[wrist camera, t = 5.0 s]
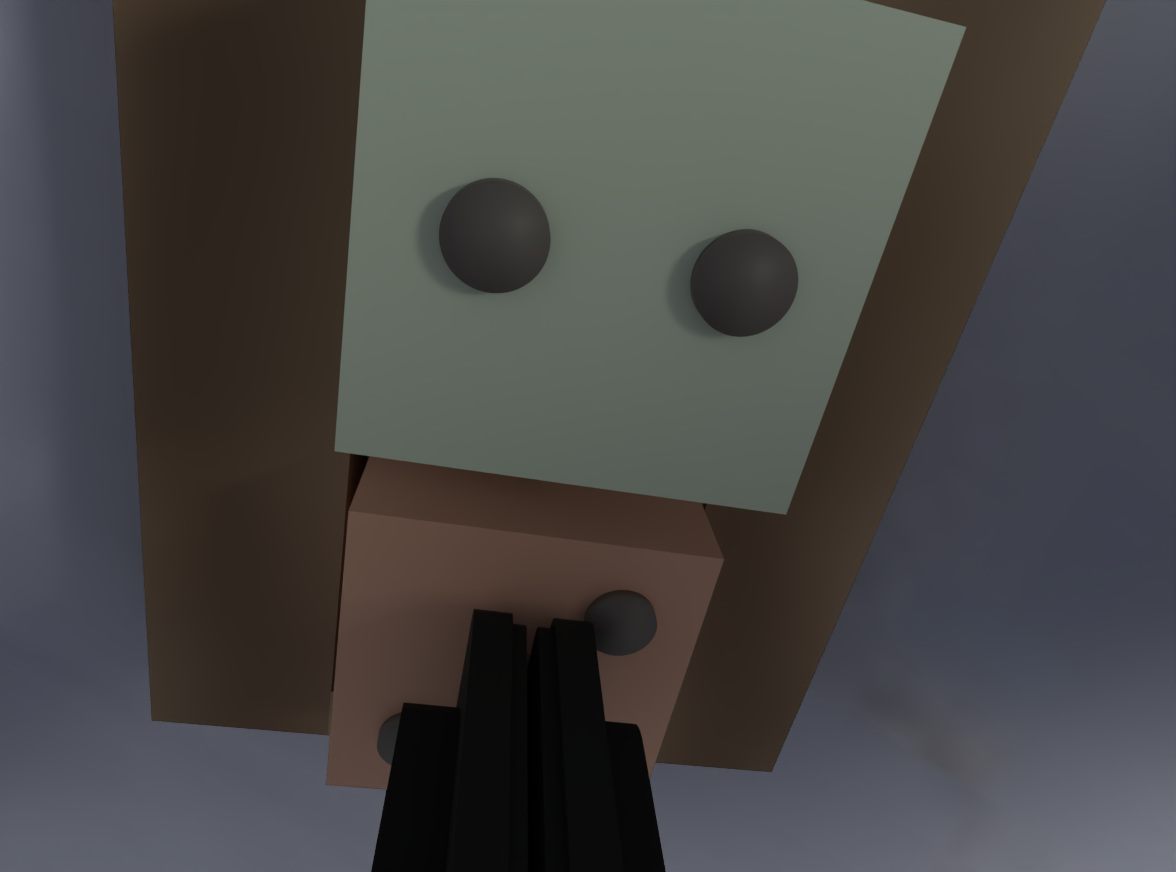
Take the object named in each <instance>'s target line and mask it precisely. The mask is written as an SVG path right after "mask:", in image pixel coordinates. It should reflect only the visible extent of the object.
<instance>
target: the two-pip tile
mask: <svg viewBox="0 0 1176 872" xmlns="http://www.w3.org/2000/svg"><path fill="white" fill-rule="evenodd" d="M965 30H966V27H964V26H960V25H956V24H953V23H949V22H945V21H941V20H937V19H933V18H929V17H926V16H922V15H918V14H914V13H910V12H906V11H902V10H898V9H895V8H891V7H887V6H883V5H879V4H875V3H871V2H868V1H864V0H366V8H365V23H364V37H363V51H362V65H361V80H360V94H359V108H358V122H357V137H356V151H355V165H354V180H353V194H352V208H351V222H350V237H349V251H348V265H347V279H346V294H345V308H344V322H343V336H342V351H341V365H340V379H339V394H338V408H337V422H336V436H335V451H337V452H344V453H351V454H358V455H365V456H372V457H379V458H387V459H394V460H401V461H408V462H415V463H422V464H429V465H436V466H443V467H451V468H458V469H465V470H472V471H479V472H486V473H493V474H500V475H508V476H515V477H522V478H529V479H536V480H543V481H550V482H557V483H564V484H572V485H579V486H586V487H593V488H600V489H607V490H614V491H621V492H628V493H636V494H643V495H650V496H657V497H664V498H671V499H678V500H685V501H693V502H700V503H707V504H714V505H721V506H728V507H735V508H742V509H749V510H757V511H764V512H771V513H778V514H785V515H786V513H787V511H788V508H789V505H790V503H791V500H792V497H793V495H794V492H795V489H796V486H797V484H798V481H799V478H800V476H801V473H802V470H803V468H804V465H805V462H806V459H807V457H808V454H809V451H810V449H811V446H812V443H813V440H814V438H815V435H816V432H817V430H818V427H819V424H820V422H821V419H822V416H823V413H824V411H825V408H826V405H827V403H828V400H829V397H830V395H831V392H832V389H833V386H834V384H835V381H836V378H837V376H838V373H839V370H840V368H841V365H842V362H843V359H844V357H845V354H846V351H847V349H848V346H849V343H850V340H851V338H852V335H853V332H854V330H855V327H856V324H857V322H858V319H859V316H860V313H861V311H862V308H863V305H864V303H865V300H866V297H867V295H868V292H869V289H870V286H871V284H872V281H873V278H874V276H875V273H876V270H877V267H878V265H879V262H880V259H881V257H882V254H883V251H884V249H885V246H886V243H887V240H888V238H889V235H890V232H891V230H892V227H893V224H894V222H895V219H896V216H897V213H898V211H899V208H900V205H901V203H902V200H903V197H904V194H905V192H906V189H907V186H908V184H909V181H910V178H911V176H912V173H913V170H914V167H915V165H916V162H917V159H918V157H919V154H920V151H921V149H922V146H923V143H924V140H925V138H926V135H927V132H928V130H929V127H930V124H931V122H932V119H933V116H934V113H935V111H936V108H937V105H938V103H939V100H940V97H941V94H942V92H943V89H944V86H945V84H946V81H947V78H948V76H949V73H950V70H951V67H952V65H953V62H954V59H955V57H956V54H957V51H958V49H959V46H960V43H961V40H962V38H963V35H964V32H965Z"/></svg>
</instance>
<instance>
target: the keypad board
mask: <svg viewBox="0 0 1176 872" xmlns="http://www.w3.org/2000/svg"><path fill="white" fill-rule="evenodd" d="M864 1H868V2H871V3H875V4H879V5H883V6H887V7H891V8H895V9H898V10H902V11H906V12H910V13H914V14H918V15H922V16H926V17H929V18H933V19H937V20H941V21H945V22H949V23H953V24H956V25H960V26H964V27H966V30H965V32H964V35H963V38H962V40H961V43H960V46H959V49H958V51H957V54H956V57H955V59H954V62H953V65H952V67H951V70H950V73H949V76H948V78H947V81H946V84H945V86H944V89H943V92H942V94H941V97H940V100H939V103H938V105H937V108H936V111H935V113H934V116H933V119H932V122H931V124H930V127H929V130H928V132H927V135H926V138H925V140H924V143H923V146H922V149H921V151H920V154H919V157H918V159H917V162H916V165H915V167H914V170H913V173H912V176H911V178H910V181H909V184H908V186H907V189H906V192H905V194H904V197H903V200H902V203H901V205H900V208H899V211H898V213H897V216H896V219H895V222H894V224H893V227H892V230H891V232H890V235H889V238H888V240H887V243H886V246H885V249H884V251H883V254H882V257H881V259H880V262H879V265H878V267H877V270H876V273H875V276H874V278H873V281H872V284H871V286H870V289H869V292H868V295H867V297H866V300H865V303H864V305H863V308H862V311H861V313H860V316H859V319H858V322H857V324H856V327H855V330H854V332H853V335H852V338H851V340H850V343H849V346H848V349H847V351H846V354H845V357H844V359H843V362H842V365H841V368H840V370H839V373H838V376H837V378H836V381H835V384H834V386H833V389H832V392H831V395H830V397H829V400H828V403H827V405H826V408H825V411H824V413H823V416H822V419H821V422H820V424H819V427H818V430H817V432H816V435H815V438H814V440H813V443H812V446H811V449H810V451H809V454H808V457H807V459H806V462H805V465H804V468H803V470H802V473H801V476H800V478H799V481H798V484H797V486H796V489H795V492H794V495H793V497H792V500H791V503H790V505H789V508H788V511H787V513H786V515H785V514H778V513H771V512H764V511H757V510H749V509H742V508H735V507H728V506H721V505H714V504H707V503H702V506H703V508H704V511H705V513H706V516H707V518H708V520H709V523H710V525H711V528H712V530H713V533H714V535H715V538H716V540H717V543H718V545H719V548H720V550H721V553H722V555H723V558H724V561H723V564H722V567H721V570H720V573H719V576H718V579H717V582H716V585H715V588H714V591H713V594H712V597H711V600H710V603H709V605H708V608H707V611H706V614H705V617H704V620H703V623H702V626H701V629H700V632H699V635H698V638H697V641H696V644H695V647H694V650H693V653H692V656H691V659H690V662H689V664H688V667H687V670H686V673H685V676H684V679H683V682H682V685H681V688H680V691H679V694H678V697H677V700H676V703H675V706H674V709H673V712H672V715H671V718H670V720H669V723H668V726H667V729H666V732H665V735H664V738H663V741H662V744H661V747H660V750H659V753H658V756H657V759H656V763H668V764H680V765H692V766H704V767H716V768H728V769H740V770H752V771H764V772H772V770H773V768H774V765H775V763H776V761H777V758H778V756H779V754H780V751H781V749H782V747H783V744H784V742H785V740H786V738H787V735H788V733H789V731H790V728H791V726H792V724H793V721H794V719H795V717H796V714H797V712H798V710H799V708H800V705H801V703H802V701H803V698H804V696H805V694H806V691H807V689H808V687H809V685H810V682H811V680H812V678H813V675H814V673H815V671H816V668H817V666H818V664H819V661H820V659H821V657H822V655H823V652H824V650H825V648H826V645H827V643H828V641H829V638H830V636H831V634H832V631H833V629H834V627H835V625H836V622H837V620H838V618H839V615H840V613H841V611H842V608H843V606H844V604H845V602H846V599H847V597H848V595H849V592H850V590H851V588H852V585H853V583H854V581H855V578H856V576H857V574H858V572H859V569H860V567H861V565H862V562H863V560H864V558H865V555H866V553H867V551H868V548H869V546H870V544H871V542H872V539H873V537H874V535H875V532H876V530H877V528H878V525H879V523H880V521H881V519H882V516H883V514H884V512H885V509H886V507H887V505H888V502H889V500H890V498H891V495H892V493H893V491H894V489H895V486H896V484H897V482H898V479H899V477H900V475H901V472H902V470H903V468H904V465H905V463H906V461H907V459H908V456H909V454H910V452H911V449H912V447H913V445H914V442H915V440H916V438H917V436H918V433H919V431H920V429H921V426H922V424H923V422H924V419H925V417H926V415H927V412H928V410H929V408H930V406H931V403H932V401H933V399H934V396H935V394H936V392H937V389H938V387H939V385H940V383H941V380H942V378H943V376H944V373H945V371H946V369H947V366H948V364H949V362H950V359H951V357H952V355H953V353H954V350H955V348H956V346H957V343H958V341H959V339H960V336H961V334H962V332H963V329H964V327H965V325H966V323H967V320H968V318H969V316H970V313H971V311H972V309H973V306H974V304H975V302H976V300H977V297H978V295H979V293H980V290H981V288H982V286H983V283H984V281H985V279H986V276H987V274H988V272H989V270H990V267H991V265H992V263H993V260H994V258H995V256H996V253H997V251H998V249H999V246H1000V244H1001V242H1002V240H1003V237H1004V235H1005V233H1006V230H1007V228H1008V226H1009V223H1010V221H1011V219H1012V217H1013V214H1014V212H1015V210H1016V207H1017V205H1018V203H1019V200H1020V198H1021V196H1022V193H1023V191H1024V189H1025V187H1026V184H1027V182H1028V180H1029V177H1030V175H1031V173H1032V170H1033V168H1034V166H1035V163H1036V161H1037V159H1038V157H1039V154H1040V152H1041V150H1042V147H1043V145H1044V143H1045V140H1046V138H1047V136H1048V134H1049V131H1050V129H1051V127H1052V124H1053V122H1054V120H1055V117H1056V115H1057V113H1058V110H1059V108H1060V106H1061V104H1062V101H1063V99H1064V97H1065V94H1066V92H1067V90H1068V87H1069V85H1070V83H1071V80H1072V78H1073V76H1074V74H1075V71H1076V69H1077V67H1078V64H1079V62H1080V60H1081V57H1082V55H1083V53H1084V51H1085V48H1086V46H1087V44H1088V41H1089V39H1090V37H1091V34H1092V32H1093V30H1094V27H1095V25H1096V23H1097V21H1098V18H1099V16H1100V14H1101V11H1102V9H1103V7H1104V4H1105V2H1106V0H864ZM365 8H366V0H113V17H114V36H115V54H116V73H117V91H118V109H119V128H120V146H121V164H122V183H123V201H124V220H125V238H126V256H127V275H128V293H129V311H130V330H131V348H132V366H133V385H134V403H135V422H136V440H137V458H138V477H139V495H140V513H141V532H142V550H143V569H144V587H145V605H146V624H147V642H148V660H149V679H150V697H151V715H152V721H163V722H175V723H187V724H199V725H211V726H223V727H235V728H247V729H259V730H271V731H283V732H295V733H307V734H319V735H330V730H331V718H332V706H333V694H334V682H335V670H336V657H337V645H338V633H339V621H340V609H341V596H342V584H343V572H344V560H345V548H346V535H347V523H348V511H349V508H350V506H351V503H352V501H353V498H354V495H355V493H356V490H357V488H358V485H359V482H360V480H361V477H362V475H363V472H364V469H365V467H366V464H367V462H368V459H369V456H365V455H358V454H351V453H344V452H337V451H335V436H336V422H337V408H338V394H339V379H340V365H341V351H342V336H343V322H344V308H345V294H346V279H347V265H348V251H349V237H350V222H351V208H352V194H353V180H354V165H355V151H356V137H357V122H358V108H359V94H360V80H361V65H362V51H363V37H364V23H365Z"/></svg>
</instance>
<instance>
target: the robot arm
mask: <svg viewBox="0 0 1176 872" xmlns="http://www.w3.org/2000/svg"><path fill="white" fill-rule="evenodd" d="M371 872H666V871H665V865H664V860H663V854H662V848H661V843H660V837H659V831H658V825H657V820H656V814H655V808H654V802H653V797H652V791H651V785H650V779H649V774H648V768H647V762H646V757H645V751H644V745H643V739H642V736H641V732H640V729H639V727H638V726H637V724H632V723H621V722H610V721H605V714H604V705H603V697H602V689H601V681H600V673H599V665H598V657H597V649H596V640H595V632H594V626H593V624H592V622H586V621H577V620H568V619H559V618H554V619H553V620H552V623H551V626H550V628H545V627H537V630H536V633H535V637H534V642H533V646H532V651H531V655H530V660H529V664H528V669H527V627H526V625H518V624H513V614H512V613H506V612H497V611H489V610H480V609H474V610H473V615H472V620H471V626H470V631H469V637H468V643H467V648H466V654H465V660H464V666H463V671H462V677H461V683H460V688H459V694H458V700H457V705H456V707H448V706H437V705H426V704H416V703H405V702H404V703H403V707H402V711H401V717H400V722H399V727H398V732H397V738H396V743H395V748H394V754H393V759H392V764H391V770H390V775H389V780H388V786H387V791H386V796H385V802H384V807H383V812H382V818H381V823H380V828H379V834H378V839H377V844H376V850H375V855H374V860H373V865H372V871H371Z"/></svg>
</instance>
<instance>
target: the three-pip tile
mask: <svg viewBox="0 0 1176 872" xmlns="http://www.w3.org/2000/svg"><path fill="white" fill-rule="evenodd" d="M723 561H724V558H723V555H722V553H721V550H720V548H719V545H718V543H717V540H716V538H715V535H714V533H713V530H712V528H711V525H710V523H709V520H708V518H707V516H706V513H705V511H704V508H703V506H702V503H700V502H693V501H685V500H678V499H671V498H664V497H657V496H650V495H643V494H636V493H628V492H621V491H614V490H607V489H600V488H593V487H586V486H579V485H572V484H564V483H557V482H550V481H543V480H536V479H529V478H522V477H515V476H508V475H500V474H493V473H486V472H479V471H472V470H465V469H458V468H451V467H443V466H436V465H429V464H422V463H415V462H408V461H401V460H394V459H387V458H379V457H372V456H369V459H368V462H367V464H366V467H365V469H364V472H363V475H362V477H361V480H360V482H359V485H358V488H357V490H356V493H355V495H354V498H353V501H352V503H351V506H350V508H349V511H348V523H347V535H346V548H345V560H344V572H343V584H342V596H341V609H340V621H339V633H338V645H337V657H336V670H335V682H334V694H333V706H332V718H331V730H330V743H329V755H328V767H327V779H326V785H334V786H348V787H361V788H375V789H387V786H388V780H389V775H390V770H391V764H392V759H393V754H394V748H395V743H396V738H397V732H398V727H399V722H400V717H401V711H402V707H403V703H404V702H405V703H416V704H426V705H437V706H448V707H456V705H457V700H458V694H459V688H460V683H461V677H462V671H463V666H464V660H465V654H466V648H467V643H468V637H469V631H470V626H471V620H472V615H473V610H474V609H480V610H489V611H497V612H506V613H512V614H513V624H518V625H526V627H527V669H528V664H529V660H530V655H531V651H532V646H533V642H534V637H535V633H536V630H537V627H545V628H550V626H551V623H552V620H553V619H554V618H559V619H568V620H577V621H586V622H592V624H593V626H594V632H595V640H596V649H597V657H598V665H599V673H600V681H601V689H602V697H603V705H604V714H605V721H610V722H621V723H632V724H637V726H638V727H639V729H640V732H641V736H642V739H643V745H644V751H645V757H646V762H647V768H648V774H649V779H650V776H651V774H652V771H653V768H654V765H655V762H656V759H657V756H658V753H659V750H660V747H661V744H662V741H663V738H664V735H665V732H666V729H667V726H668V723H669V720H670V718H671V715H672V712H673V709H674V706H675V703H676V700H677V697H678V694H679V691H680V688H681V685H682V682H683V679H684V676H685V673H686V670H687V667H688V664H689V662H690V659H691V656H692V653H693V650H694V647H695V644H696V641H697V638H698V635H699V632H700V629H701V626H702V623H703V620H704V617H705V614H706V611H707V608H708V605H709V603H710V600H711V597H712V594H713V591H714V588H715V585H716V582H717V579H718V576H719V573H720V570H721V567H722V564H723Z"/></svg>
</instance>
